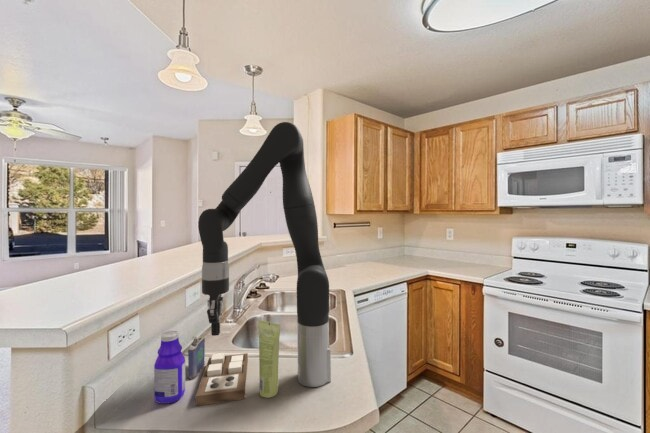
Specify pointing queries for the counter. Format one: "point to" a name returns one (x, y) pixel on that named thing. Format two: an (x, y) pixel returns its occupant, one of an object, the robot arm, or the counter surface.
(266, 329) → the tube
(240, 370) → the button front inner
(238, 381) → the panel
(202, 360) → the flask
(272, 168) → the robot arm
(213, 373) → the button front outer
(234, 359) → the button back inner
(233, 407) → the counter surface
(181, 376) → the bottle
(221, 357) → the button back outer
